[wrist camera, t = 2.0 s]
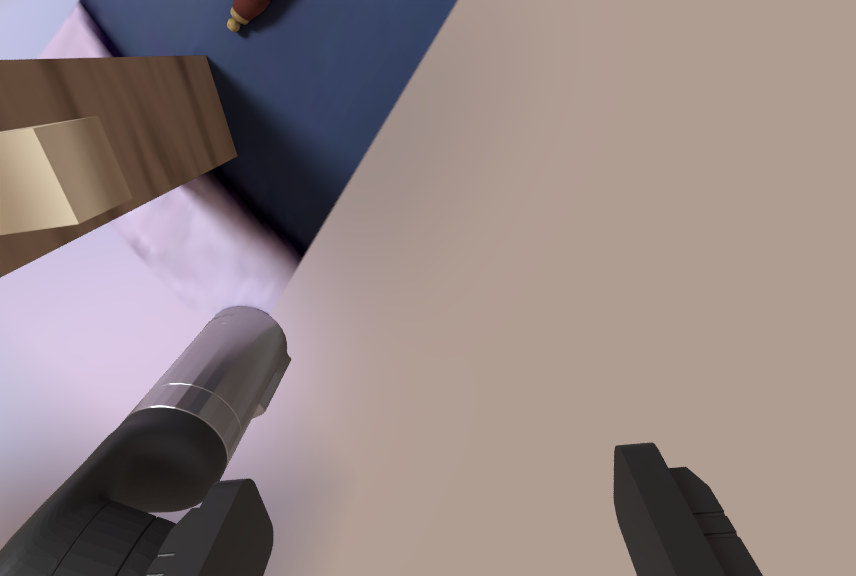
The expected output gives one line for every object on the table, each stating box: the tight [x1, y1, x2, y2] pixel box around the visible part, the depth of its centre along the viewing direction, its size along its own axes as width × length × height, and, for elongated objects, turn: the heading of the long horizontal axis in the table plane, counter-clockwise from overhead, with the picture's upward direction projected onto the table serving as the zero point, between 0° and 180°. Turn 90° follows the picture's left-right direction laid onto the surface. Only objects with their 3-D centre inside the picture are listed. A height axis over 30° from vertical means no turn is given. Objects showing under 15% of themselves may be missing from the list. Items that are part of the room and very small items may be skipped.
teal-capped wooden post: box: [0, 55, 237, 277], centre depth 32 cm, size 8×9×30 cm
